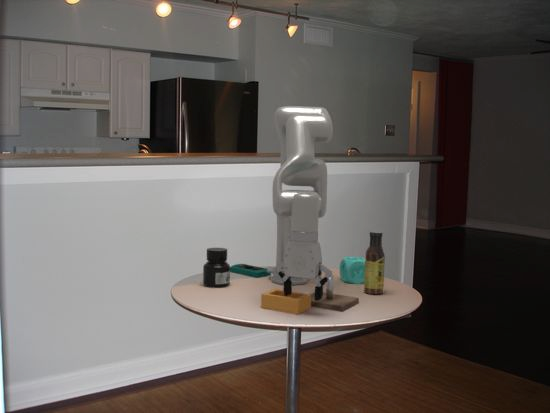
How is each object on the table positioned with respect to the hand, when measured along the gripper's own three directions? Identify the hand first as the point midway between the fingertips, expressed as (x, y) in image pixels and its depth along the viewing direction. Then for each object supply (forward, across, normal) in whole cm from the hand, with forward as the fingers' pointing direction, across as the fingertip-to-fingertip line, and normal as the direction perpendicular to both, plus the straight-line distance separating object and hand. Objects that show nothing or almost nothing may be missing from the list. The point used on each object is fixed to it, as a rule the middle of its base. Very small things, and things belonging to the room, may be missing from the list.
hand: (302, 297), depth 169 cm
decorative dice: (+4, -4, +46) cm, 46 cm away
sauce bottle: (+4, +8, +34) cm, 35 cm away
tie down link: (+4, -6, 0) cm, 7 cm away
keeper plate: (+4, +2, +12) cm, 13 cm away
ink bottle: (+4, -39, +12) cm, 41 cm away
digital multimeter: (+4, -40, +34) cm, 52 cm away
